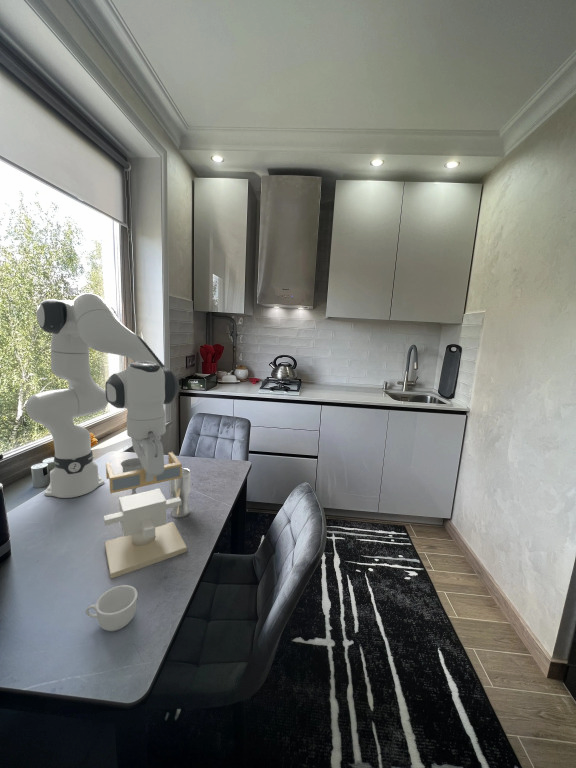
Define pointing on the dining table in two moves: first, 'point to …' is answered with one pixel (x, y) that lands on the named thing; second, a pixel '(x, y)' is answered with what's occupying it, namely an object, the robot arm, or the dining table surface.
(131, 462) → the chalice
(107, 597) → the teacup
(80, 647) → the dining table surface
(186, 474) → the beer glass
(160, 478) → the tan open angular frame
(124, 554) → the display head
